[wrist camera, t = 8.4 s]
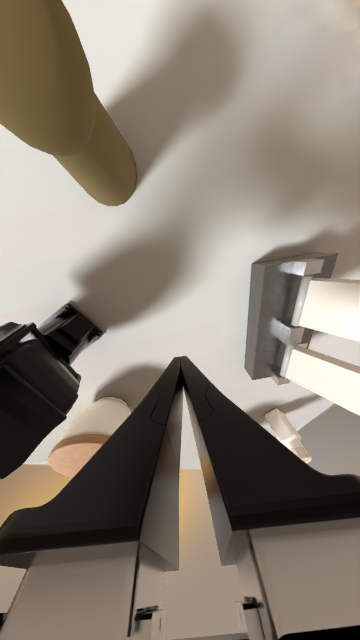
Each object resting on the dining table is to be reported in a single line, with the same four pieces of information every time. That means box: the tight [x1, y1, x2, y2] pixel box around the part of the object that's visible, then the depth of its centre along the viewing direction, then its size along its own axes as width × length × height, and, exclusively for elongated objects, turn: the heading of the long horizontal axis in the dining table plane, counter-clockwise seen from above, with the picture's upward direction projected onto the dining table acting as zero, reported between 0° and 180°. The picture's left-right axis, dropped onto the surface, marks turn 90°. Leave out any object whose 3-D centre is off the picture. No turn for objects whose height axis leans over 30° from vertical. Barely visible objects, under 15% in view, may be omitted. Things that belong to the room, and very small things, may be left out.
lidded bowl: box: [48, 397, 132, 477], centre depth 26 cm, size 13×13×11 cm
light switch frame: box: [245, 253, 338, 385], centre depth 22 cm, size 9×20×5 cm, turn 9°
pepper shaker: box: [0, 0, 137, 206], centre depth 10 cm, size 6×6×11 cm
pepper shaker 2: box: [265, 408, 312, 463], centre depth 33 cm, size 4×4×10 cm
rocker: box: [291, 275, 360, 341], centre depth 15 cm, size 1×7×10 cm
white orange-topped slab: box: [280, 344, 360, 416], centre depth 20 cm, size 1×7×10 cm
